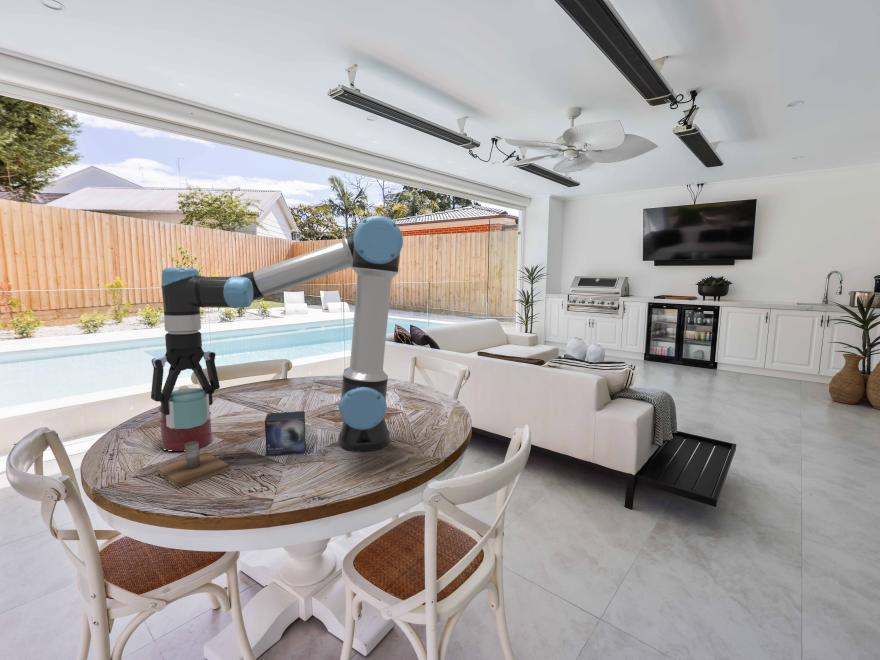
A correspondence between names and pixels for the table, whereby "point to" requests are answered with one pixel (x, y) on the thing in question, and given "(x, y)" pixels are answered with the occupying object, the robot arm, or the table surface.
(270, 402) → the table surface
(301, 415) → the small box
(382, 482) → the table surface
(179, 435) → the canister
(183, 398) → the lidded container
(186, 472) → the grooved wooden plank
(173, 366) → the robot arm
